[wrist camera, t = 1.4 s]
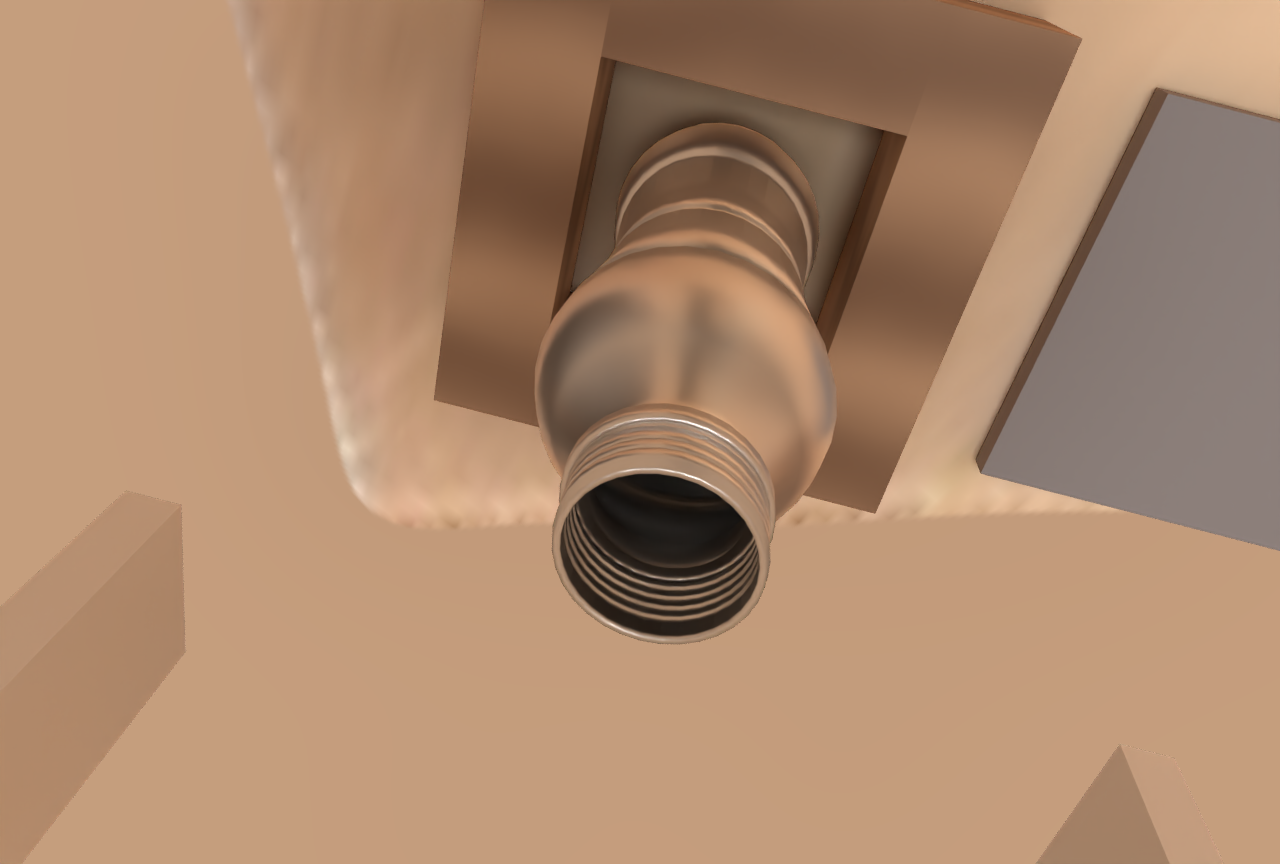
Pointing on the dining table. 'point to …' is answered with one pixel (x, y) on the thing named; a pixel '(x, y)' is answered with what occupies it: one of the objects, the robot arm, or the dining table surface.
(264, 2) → the dining table surface
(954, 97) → the walnut block
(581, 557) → the plastic bottle
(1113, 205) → the charcoal mat
